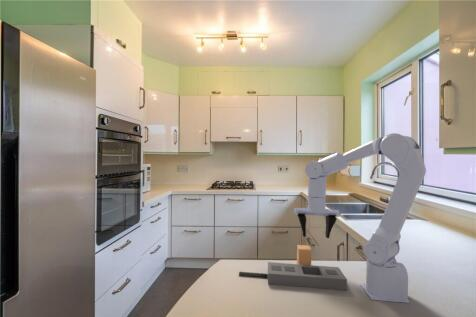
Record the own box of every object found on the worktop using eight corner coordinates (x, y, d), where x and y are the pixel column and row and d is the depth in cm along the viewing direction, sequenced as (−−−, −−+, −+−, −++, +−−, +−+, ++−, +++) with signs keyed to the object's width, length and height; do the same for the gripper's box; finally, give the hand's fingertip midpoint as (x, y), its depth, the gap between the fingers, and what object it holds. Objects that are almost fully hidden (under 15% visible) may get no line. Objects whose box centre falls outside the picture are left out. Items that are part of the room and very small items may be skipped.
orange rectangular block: (308, 266, 85) (309, 245, 85) (310, 271, 81) (311, 249, 81) (296, 265, 85) (297, 244, 85) (298, 270, 81) (299, 249, 81)
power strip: (338, 276, 77) (338, 266, 77) (346, 290, 69) (347, 279, 69) (240, 269, 81) (240, 259, 81) (237, 281, 73) (237, 270, 73)
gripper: (335, 195, 87) (334, 234, 87) (293, 194, 89) (292, 231, 89) (341, 199, 80) (340, 240, 80) (296, 197, 82) (295, 238, 82)
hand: (315, 236), depth 84 cm, fingers open, 7 cm apart
